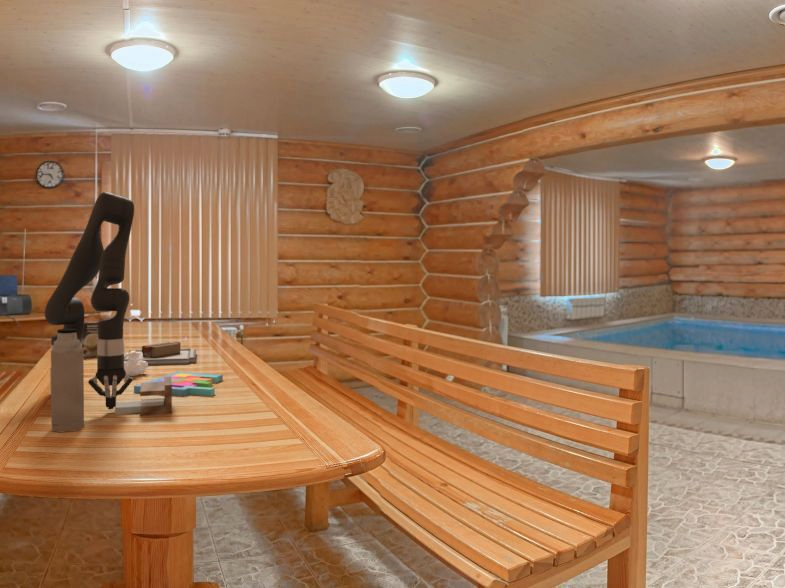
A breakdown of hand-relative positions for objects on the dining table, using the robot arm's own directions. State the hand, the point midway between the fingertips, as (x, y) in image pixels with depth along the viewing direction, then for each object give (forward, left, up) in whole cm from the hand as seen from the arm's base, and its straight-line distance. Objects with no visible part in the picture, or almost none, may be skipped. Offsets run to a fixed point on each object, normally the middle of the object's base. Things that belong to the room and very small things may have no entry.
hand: (111, 408), depth 187 cm
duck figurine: (+4, +58, -2) cm, 58 cm away
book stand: (+15, +94, -2) cm, 95 cm away
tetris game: (+25, +31, -2) cm, 40 cm away
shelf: (+12, 0, -1) cm, 12 cm away
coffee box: (-16, +110, -1) cm, 111 cm away
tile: (+8, +1, -2) cm, 9 cm away
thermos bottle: (-10, -15, -1) cm, 18 cm away
